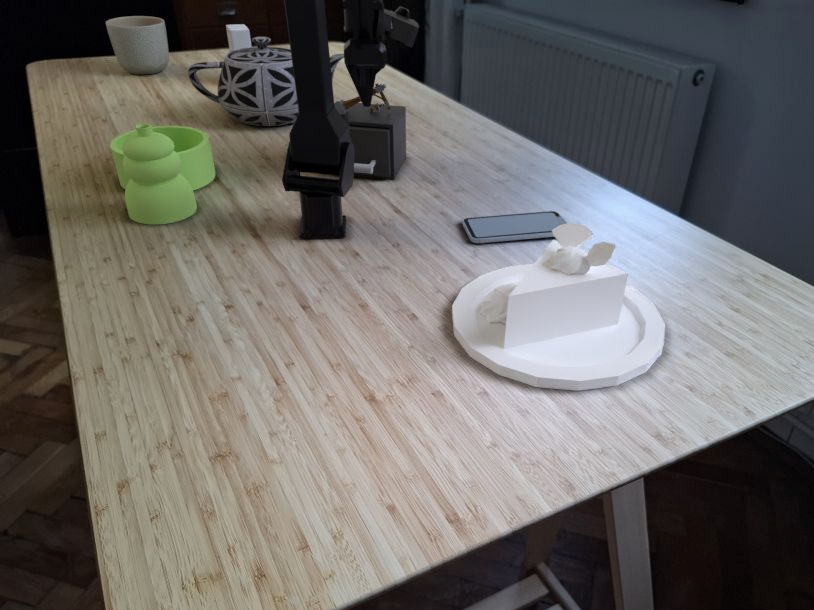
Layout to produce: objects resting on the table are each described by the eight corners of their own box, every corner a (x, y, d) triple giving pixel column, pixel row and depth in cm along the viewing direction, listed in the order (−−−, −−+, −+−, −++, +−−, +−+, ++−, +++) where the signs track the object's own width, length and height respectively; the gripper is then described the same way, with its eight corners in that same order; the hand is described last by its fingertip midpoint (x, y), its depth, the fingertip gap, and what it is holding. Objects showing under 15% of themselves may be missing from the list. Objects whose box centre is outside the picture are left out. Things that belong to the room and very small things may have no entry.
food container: (125, 164, 116) (105, 87, 108) (215, 158, 119) (202, 84, 112) (105, 228, 96) (79, 140, 89) (214, 220, 100) (198, 134, 93)
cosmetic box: (233, 80, 160) (225, 24, 153) (252, 79, 161) (244, 23, 154) (238, 87, 155) (229, 30, 148) (257, 86, 157) (250, 29, 150)
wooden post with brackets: (395, 107, 114) (384, 81, 111) (352, 127, 115) (339, 101, 112) (395, 104, 115) (383, 78, 113) (352, 123, 116) (340, 98, 114)
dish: (543, 254, 96) (552, 176, 89) (703, 330, 81) (728, 245, 75) (408, 317, 81) (407, 230, 75) (574, 423, 67) (591, 327, 60)
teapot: (357, 129, 135) (353, 48, 126) (193, 135, 129) (176, 50, 120) (347, 101, 150) (343, 26, 141) (199, 105, 143) (185, 27, 135)
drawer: (384, 186, 111) (382, 139, 106) (317, 180, 112) (313, 133, 107) (400, 157, 121) (399, 114, 117) (339, 152, 122) (336, 109, 118)
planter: (107, 70, 162) (95, 20, 156) (156, 62, 170) (146, 13, 164) (135, 81, 156) (122, 29, 149) (184, 71, 164) (174, 22, 157)
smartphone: (461, 217, 102) (556, 210, 105) (460, 223, 103) (556, 215, 106) (472, 239, 96) (573, 231, 99) (472, 246, 97) (572, 237, 100)
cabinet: (394, 179, 115) (393, 124, 110) (323, 173, 116) (318, 118, 111) (406, 158, 123) (405, 106, 118) (340, 152, 124) (336, 100, 119)
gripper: (420, 4, 97) (420, 115, 106) (410, -17, 112) (411, 83, 121) (340, 2, 95) (347, 115, 105) (341, -18, 110) (347, 82, 120)
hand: (366, 98), depth 112 cm, fingers open, 9 cm apart
